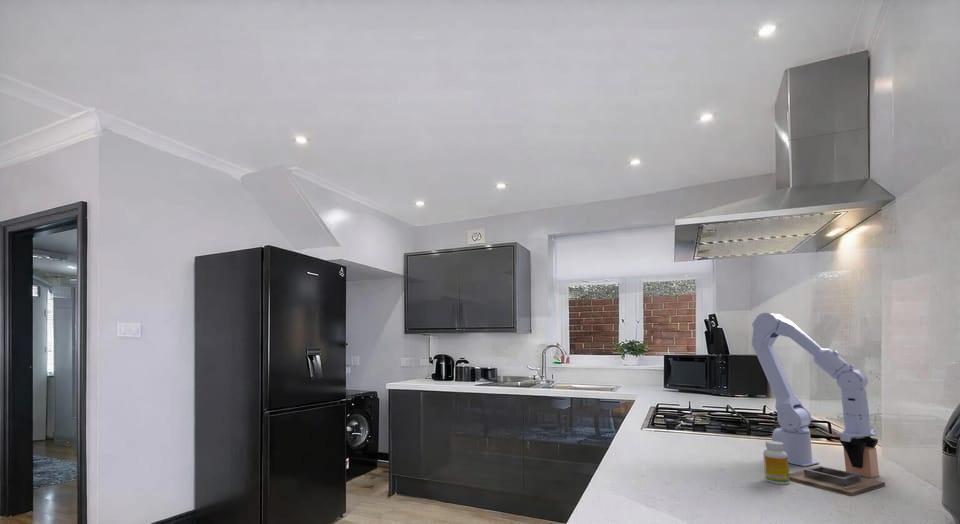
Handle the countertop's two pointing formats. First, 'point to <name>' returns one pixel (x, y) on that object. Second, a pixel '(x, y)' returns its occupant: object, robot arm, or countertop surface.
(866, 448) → the plug block
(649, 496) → the countertop surface
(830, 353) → the robot arm
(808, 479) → the socket board
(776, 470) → the supplement bottle
